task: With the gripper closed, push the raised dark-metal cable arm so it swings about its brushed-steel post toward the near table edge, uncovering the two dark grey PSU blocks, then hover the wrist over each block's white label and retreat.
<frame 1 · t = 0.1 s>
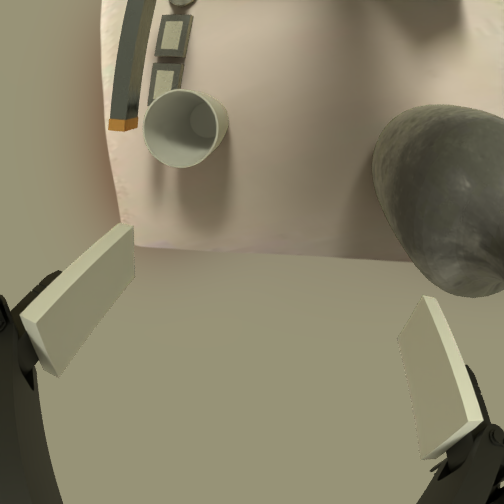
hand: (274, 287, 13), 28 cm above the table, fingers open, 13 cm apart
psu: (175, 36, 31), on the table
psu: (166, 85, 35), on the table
vase: (418, 161, 34), on the table
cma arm: (134, 36, 23), point 10 cm above the table, hinge at 0.0°
cup: (208, 119, 36), on the table
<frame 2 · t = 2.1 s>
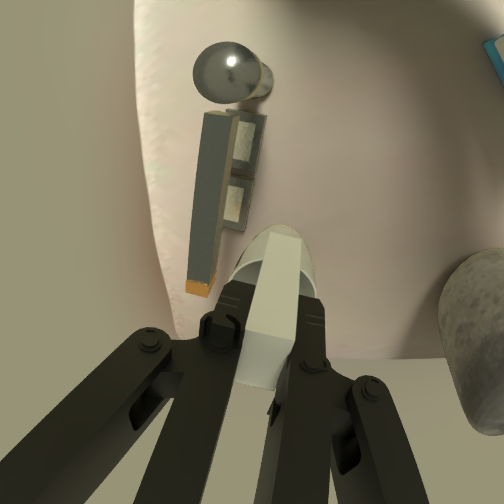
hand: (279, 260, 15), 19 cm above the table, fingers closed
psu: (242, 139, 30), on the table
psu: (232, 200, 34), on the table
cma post: (253, 79, 27), on the table
vase: (474, 282, 34), on the table
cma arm: (213, 178, 23), point 10 cm above the table, hinge at 0.0°
cup: (281, 243, 36), on the table
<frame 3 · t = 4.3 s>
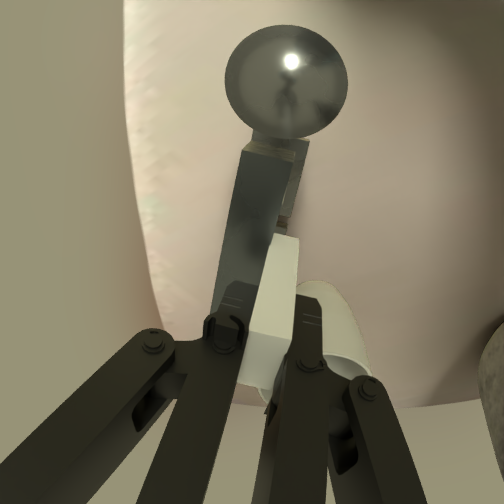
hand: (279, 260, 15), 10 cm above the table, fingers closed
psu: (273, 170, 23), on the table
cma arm: (245, 251, 15), point 10 cm above the table, hinge at 1.6°, touching gripper
cup: (314, 301, 28), on the table
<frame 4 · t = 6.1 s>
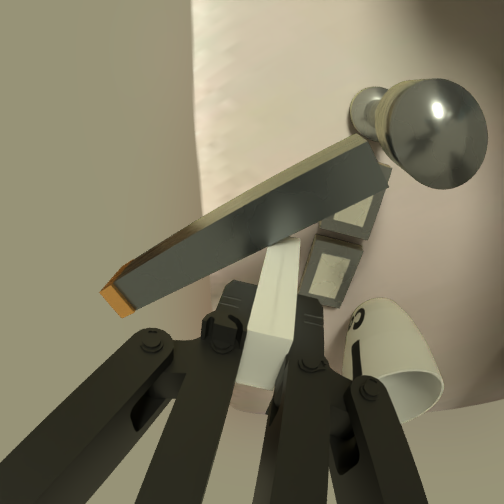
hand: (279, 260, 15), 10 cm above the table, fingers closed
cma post: (376, 113, 19), on the table
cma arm: (269, 210, 13), point 10 cm above the table, hinge at 47.3°, touching gripper
cup: (376, 316, 28), on the table
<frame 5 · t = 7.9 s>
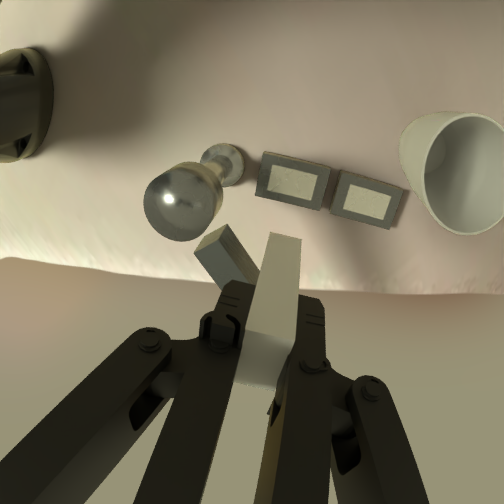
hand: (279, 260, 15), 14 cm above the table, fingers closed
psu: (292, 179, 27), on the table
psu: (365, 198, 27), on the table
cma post: (223, 164, 28), on the table
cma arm: (251, 294, 22), point 10 cm above the table, hinge at 47.5°
cup: (422, 147, 24), on the table
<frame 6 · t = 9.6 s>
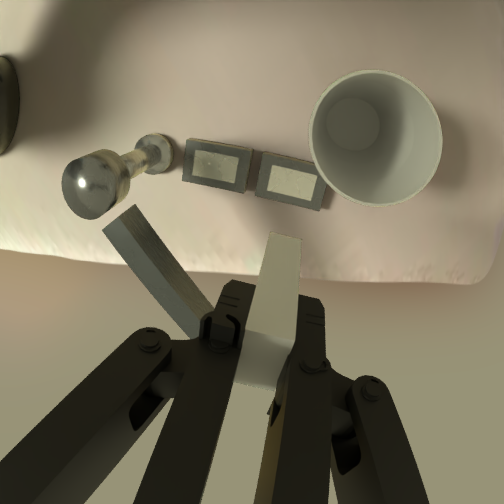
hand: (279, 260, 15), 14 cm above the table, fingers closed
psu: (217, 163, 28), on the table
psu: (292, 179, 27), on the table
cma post: (155, 153, 28), on the table
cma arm: (159, 270, 22), point 10 cm above the table, hinge at 47.5°
cup: (352, 123, 24), on the table
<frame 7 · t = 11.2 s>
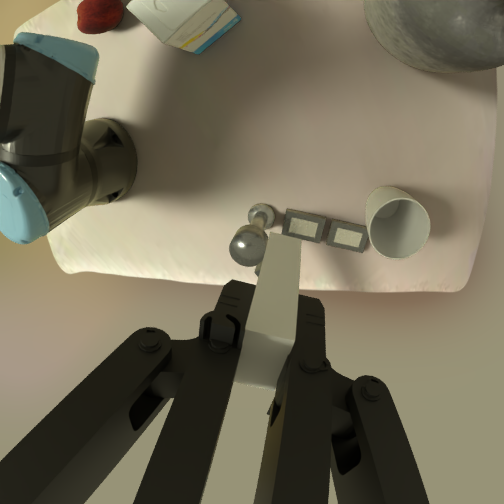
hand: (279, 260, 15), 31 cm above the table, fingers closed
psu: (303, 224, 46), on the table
apple: (114, 16, 34), on the table
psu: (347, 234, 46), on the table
ink box: (202, 19, 34), on the table
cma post: (261, 215, 47), on the table
vase: (410, 25, 29), on the table
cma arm: (282, 292, 41), point 10 cm above the table, hinge at 47.5°
cup: (383, 202, 42), on the table
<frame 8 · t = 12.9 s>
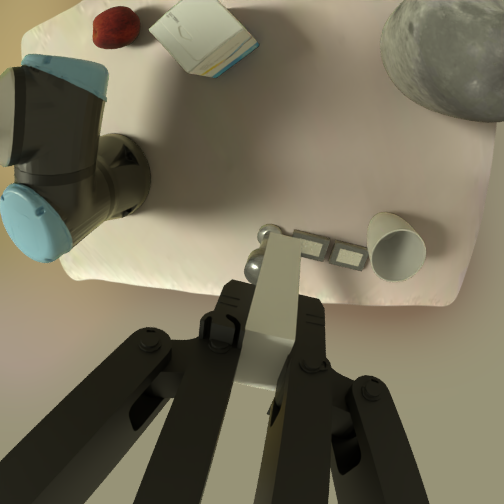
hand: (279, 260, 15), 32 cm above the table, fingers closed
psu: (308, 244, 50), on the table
apple: (129, 30, 37), on the table
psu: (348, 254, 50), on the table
ink box: (220, 42, 37), on the table
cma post: (270, 235, 50), on the table
vase: (420, 59, 33), on the table
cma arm: (290, 308, 44), point 10 cm above the table, hinge at 47.5°
cup: (383, 225, 46), on the table
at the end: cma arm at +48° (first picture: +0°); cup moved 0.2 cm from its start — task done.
